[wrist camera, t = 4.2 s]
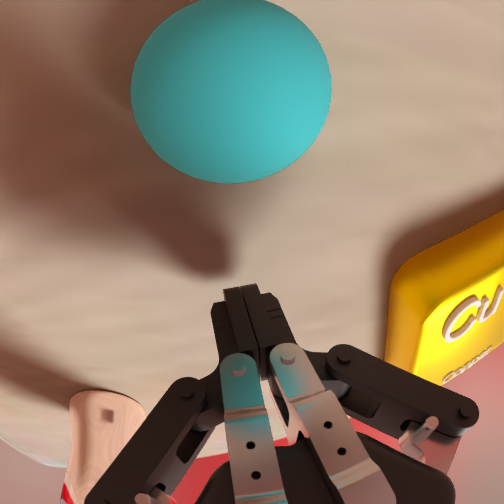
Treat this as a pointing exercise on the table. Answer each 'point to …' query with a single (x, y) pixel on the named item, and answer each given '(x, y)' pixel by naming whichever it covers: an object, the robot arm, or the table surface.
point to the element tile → (448, 304)
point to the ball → (230, 90)
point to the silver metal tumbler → (97, 438)
